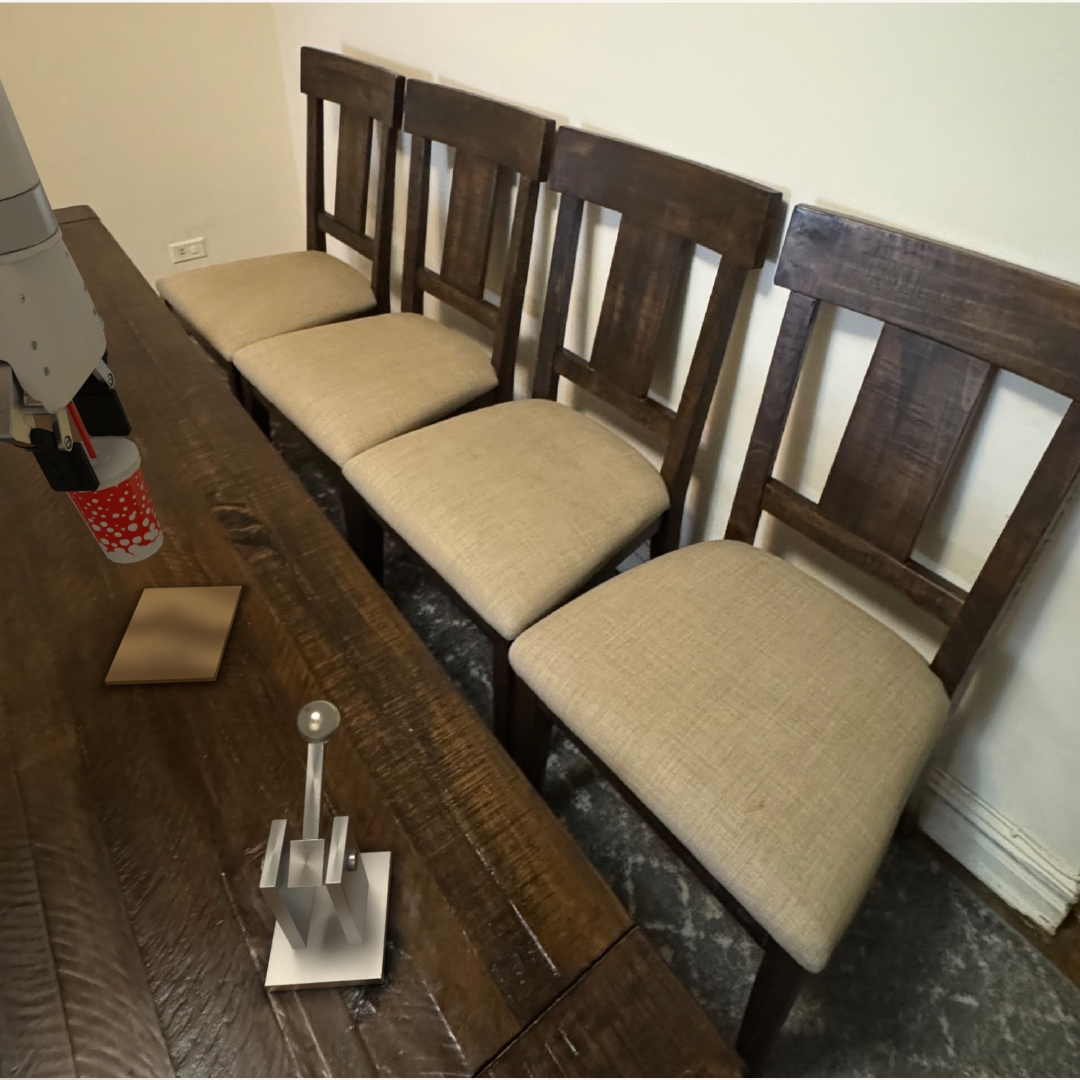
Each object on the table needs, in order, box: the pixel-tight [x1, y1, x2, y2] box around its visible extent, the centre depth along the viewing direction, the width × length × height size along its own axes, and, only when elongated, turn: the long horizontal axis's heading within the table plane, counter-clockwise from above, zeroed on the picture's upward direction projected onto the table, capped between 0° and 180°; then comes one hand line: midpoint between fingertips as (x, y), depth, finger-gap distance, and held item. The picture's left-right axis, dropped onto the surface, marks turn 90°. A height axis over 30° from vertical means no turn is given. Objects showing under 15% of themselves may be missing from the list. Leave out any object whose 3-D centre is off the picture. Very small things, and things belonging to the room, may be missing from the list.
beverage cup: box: [65, 400, 165, 564], centre depth 58 cm, size 6×6×14 cm
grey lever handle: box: [287, 699, 343, 888], centre depth 50 cm, size 12×3×3 cm, turn 4°
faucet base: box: [258, 815, 393, 992], centre depth 51 cm, size 9×8×12 cm
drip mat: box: [104, 585, 244, 686], centre depth 75 cm, size 12×10×1 cm
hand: (94, 458), depth 57 cm, fingers closed on beverage cup, 6 cm apart
